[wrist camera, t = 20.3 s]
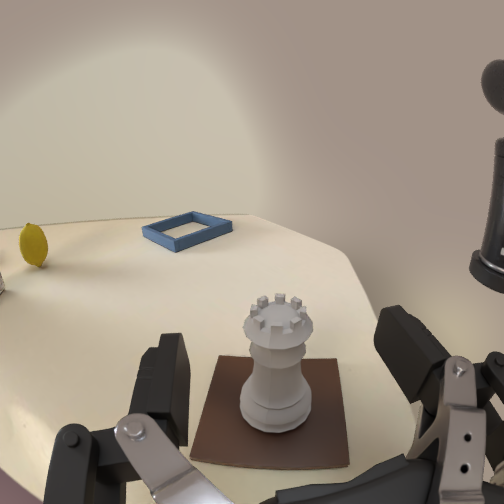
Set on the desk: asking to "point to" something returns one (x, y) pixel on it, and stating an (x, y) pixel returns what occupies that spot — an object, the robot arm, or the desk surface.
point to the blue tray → (178, 244)
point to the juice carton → (1, 284)
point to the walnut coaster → (271, 443)
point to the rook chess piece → (276, 365)
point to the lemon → (33, 244)
